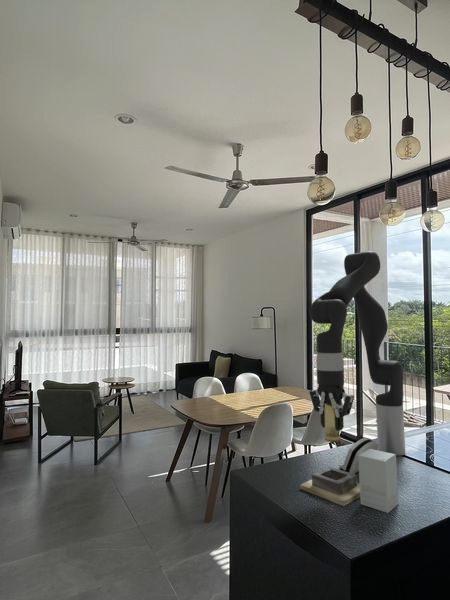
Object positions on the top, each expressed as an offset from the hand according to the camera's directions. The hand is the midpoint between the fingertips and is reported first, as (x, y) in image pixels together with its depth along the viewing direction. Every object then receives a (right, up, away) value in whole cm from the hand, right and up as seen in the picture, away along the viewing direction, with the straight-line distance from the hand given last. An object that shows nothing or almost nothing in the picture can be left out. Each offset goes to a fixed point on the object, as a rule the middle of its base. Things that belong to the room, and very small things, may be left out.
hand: (332, 428), depth 107 cm
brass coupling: (0, -3, 0) cm, 3 cm away
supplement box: (+10, -17, -10) cm, 21 cm away
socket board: (0, -17, -1) cm, 17 cm away
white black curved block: (+14, -19, +16) cm, 28 cm away
